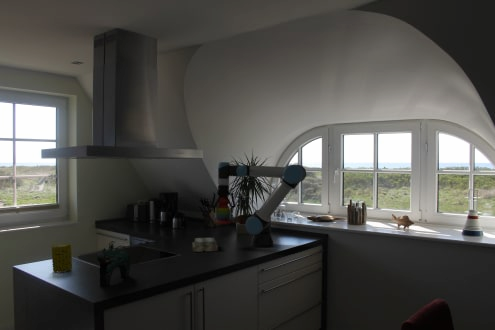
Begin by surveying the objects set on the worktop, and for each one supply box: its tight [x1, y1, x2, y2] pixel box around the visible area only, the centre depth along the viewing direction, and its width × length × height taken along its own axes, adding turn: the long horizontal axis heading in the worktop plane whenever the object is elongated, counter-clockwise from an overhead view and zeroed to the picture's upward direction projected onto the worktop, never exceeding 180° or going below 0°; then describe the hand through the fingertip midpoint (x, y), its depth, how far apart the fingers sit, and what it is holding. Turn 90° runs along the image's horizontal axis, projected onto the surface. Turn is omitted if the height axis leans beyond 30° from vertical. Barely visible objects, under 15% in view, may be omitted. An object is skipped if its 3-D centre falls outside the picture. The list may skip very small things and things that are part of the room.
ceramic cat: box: [97, 240, 131, 287], centre depth 190 cm, size 20×6×20 cm, turn 158°
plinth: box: [192, 237, 219, 253], centre depth 261 cm, size 16×16×6 cm
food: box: [51, 243, 73, 273], centre depth 209 cm, size 15×12×10 cm
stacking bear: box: [216, 197, 233, 225], centre depth 266 cm, size 11×10×18 cm
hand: (222, 217), depth 266 cm, fingers closed on stacking bear, 9 cm apart
